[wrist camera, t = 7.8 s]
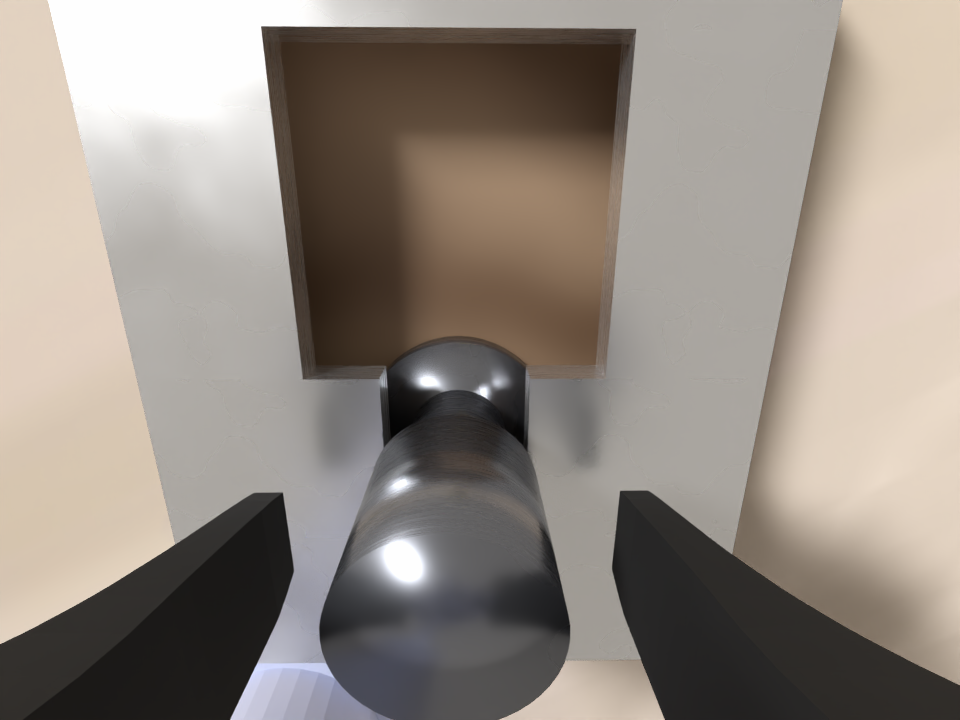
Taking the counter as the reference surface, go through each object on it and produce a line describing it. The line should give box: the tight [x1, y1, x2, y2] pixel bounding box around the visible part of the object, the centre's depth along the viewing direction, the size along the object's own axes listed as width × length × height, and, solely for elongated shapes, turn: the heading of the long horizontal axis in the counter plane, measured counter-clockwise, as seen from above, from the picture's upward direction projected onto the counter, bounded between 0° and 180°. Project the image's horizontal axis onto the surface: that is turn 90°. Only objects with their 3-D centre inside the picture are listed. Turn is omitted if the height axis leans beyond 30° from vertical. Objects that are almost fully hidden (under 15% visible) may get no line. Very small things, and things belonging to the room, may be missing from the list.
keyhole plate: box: [48, 0, 843, 664], centre depth 13 cm, size 20×15×3 cm
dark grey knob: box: [319, 336, 570, 720], centre depth 12 cm, size 6×6×8 cm
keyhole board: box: [280, 42, 622, 369], centre depth 15 cm, size 22×17×1 cm
